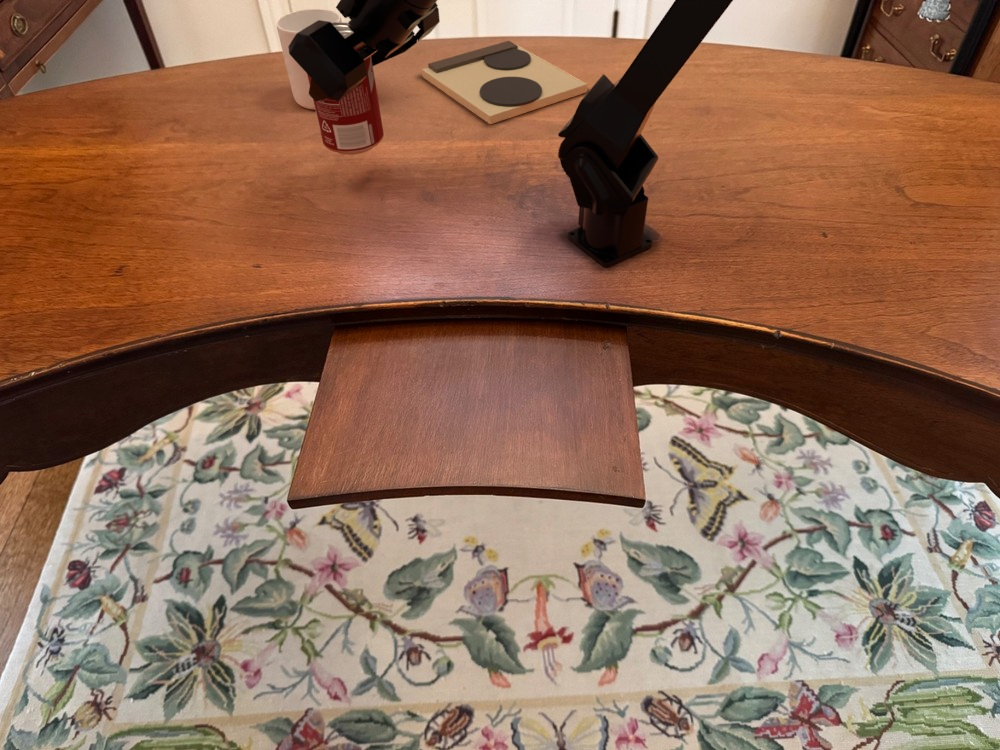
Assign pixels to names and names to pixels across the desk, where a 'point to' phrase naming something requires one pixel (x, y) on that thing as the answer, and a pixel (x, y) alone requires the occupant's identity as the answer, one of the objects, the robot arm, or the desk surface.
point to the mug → (286, 32)
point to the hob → (502, 81)
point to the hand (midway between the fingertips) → (332, 83)
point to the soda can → (351, 114)
